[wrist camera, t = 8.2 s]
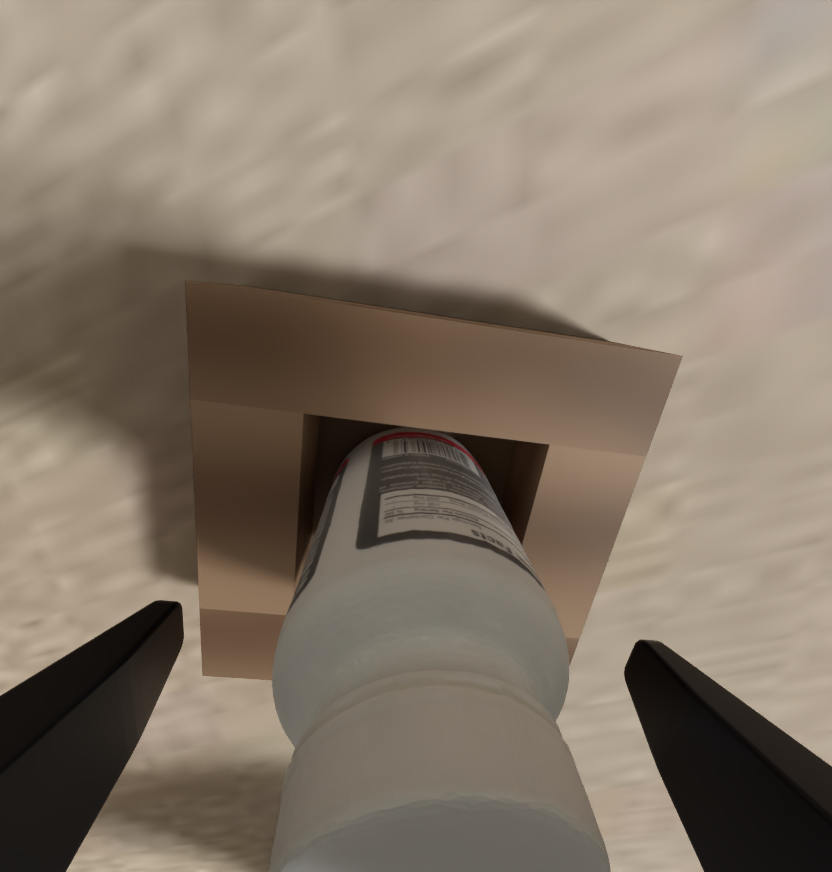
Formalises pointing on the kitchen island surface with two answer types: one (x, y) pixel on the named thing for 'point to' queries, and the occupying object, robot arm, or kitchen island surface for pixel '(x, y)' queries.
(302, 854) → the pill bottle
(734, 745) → the robot arm
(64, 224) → the kitchen island surface
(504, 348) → the socket block
